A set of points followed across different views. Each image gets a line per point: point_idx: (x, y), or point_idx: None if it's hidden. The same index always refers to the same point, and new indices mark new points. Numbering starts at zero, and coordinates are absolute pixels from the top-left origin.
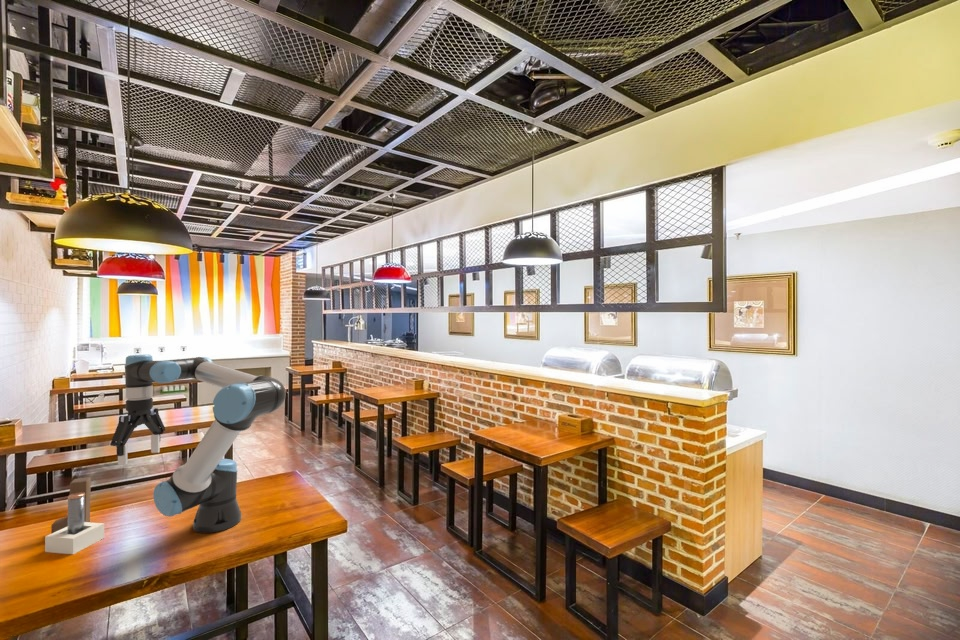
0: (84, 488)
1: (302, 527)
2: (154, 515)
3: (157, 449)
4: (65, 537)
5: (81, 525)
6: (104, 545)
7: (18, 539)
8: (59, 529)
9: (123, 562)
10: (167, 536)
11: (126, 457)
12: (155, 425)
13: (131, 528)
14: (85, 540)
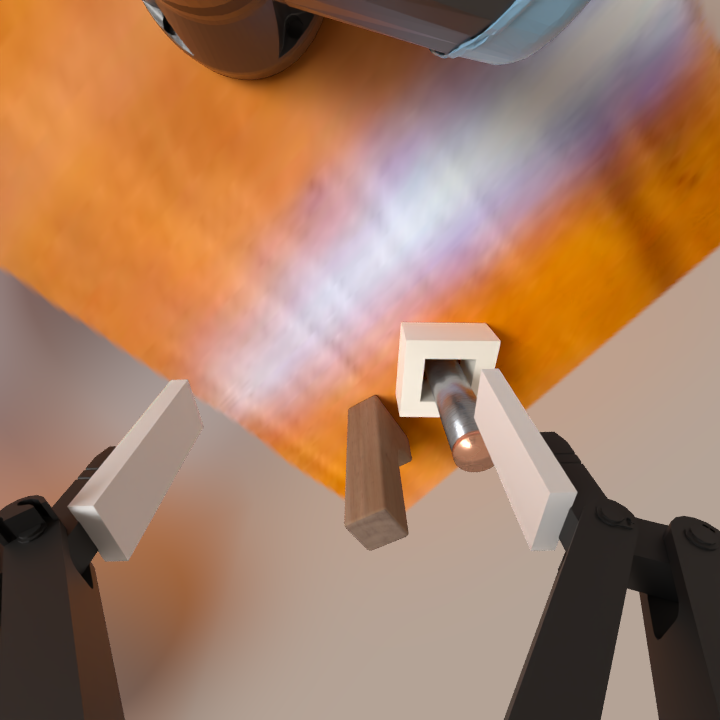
0: (386, 488)
1: None
2: (251, 300)
3: (177, 399)
4: (492, 367)
5: (452, 372)
6: (439, 285)
7: (418, 485)
8: (403, 439)
9: (542, 128)
10: (372, 118)
11: (510, 403)
12: (18, 675)
13: (339, 297)
14: (459, 330)
